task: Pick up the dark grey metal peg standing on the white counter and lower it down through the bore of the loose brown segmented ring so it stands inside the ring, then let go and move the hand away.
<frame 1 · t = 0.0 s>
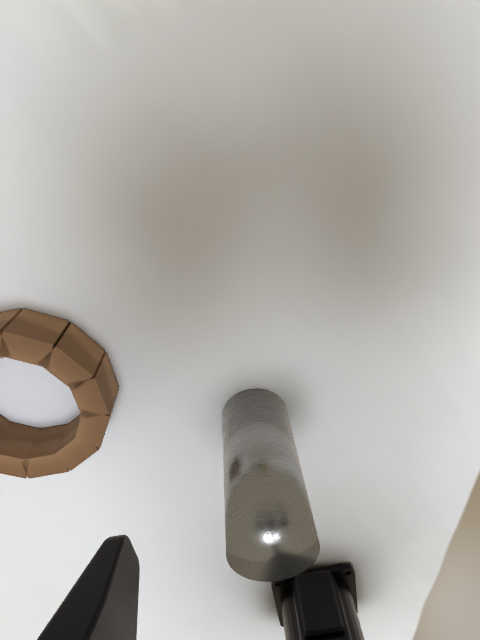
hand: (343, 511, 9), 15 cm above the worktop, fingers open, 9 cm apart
brown segmented ring: (33, 383, 24), on the worktop
grey metal peg: (254, 415, 26), on the worktop
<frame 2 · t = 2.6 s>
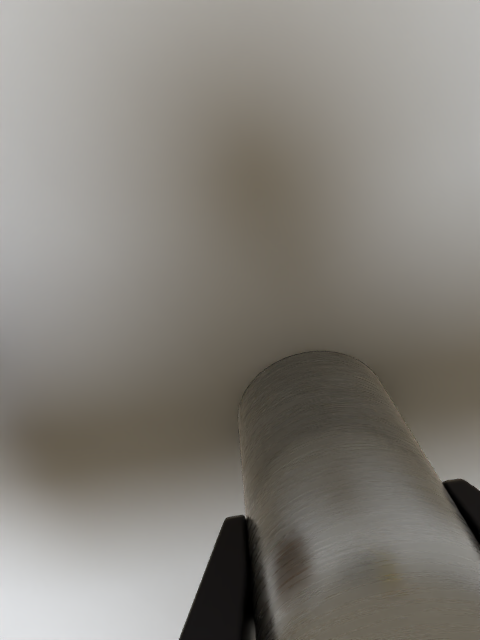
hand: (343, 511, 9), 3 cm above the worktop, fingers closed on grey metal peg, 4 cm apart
grey metal peg: (311, 415, 11), on the worktop, touching gripper
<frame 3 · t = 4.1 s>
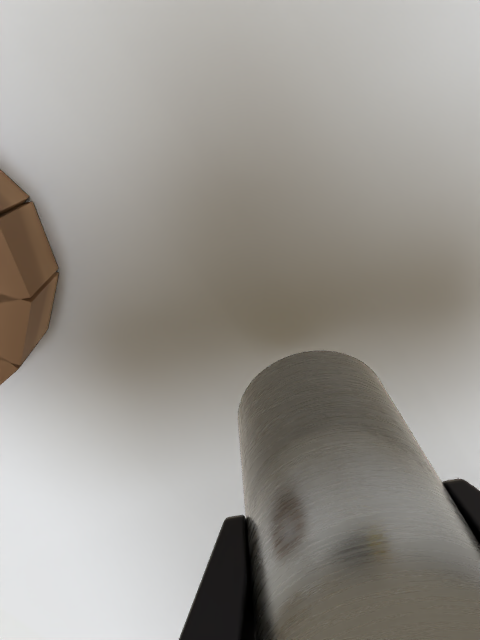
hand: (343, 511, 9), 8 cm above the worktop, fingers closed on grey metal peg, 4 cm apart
grey metal peg: (311, 414, 11), point 5 cm above the worktop, touching gripper
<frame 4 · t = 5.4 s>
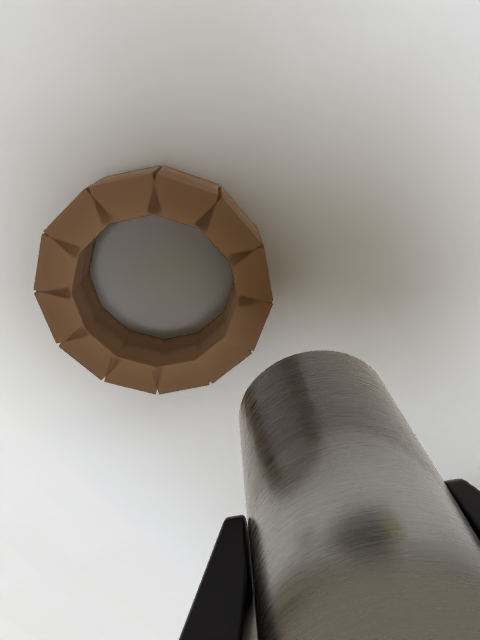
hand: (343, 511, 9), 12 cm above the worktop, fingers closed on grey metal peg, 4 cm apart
brown segmented ring: (162, 275, 19), on the worktop
grey metal peg: (313, 414, 11), point 9 cm above the worktop, touching gripper
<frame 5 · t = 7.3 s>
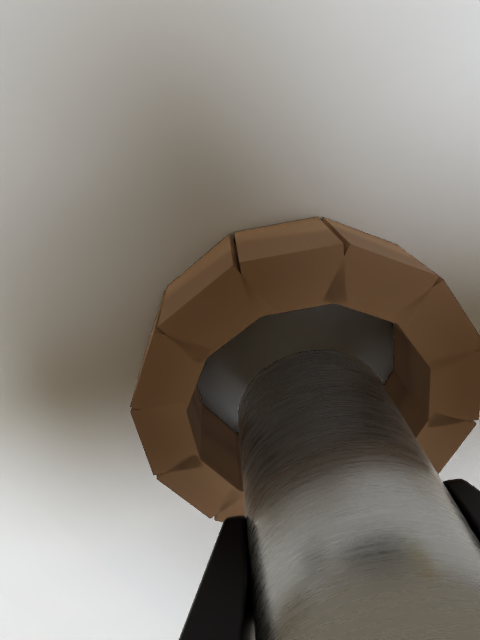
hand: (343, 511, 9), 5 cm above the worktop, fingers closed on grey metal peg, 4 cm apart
brown segmented ring: (294, 364, 14), on the worktop
grey metal peg: (312, 414, 11), point 2 cm above the worktop, touching gripper
when the fingers open (4 cm above the worktop, at t = 8.6 s): grey metal peg drops 1 cm, resting in brown segmented ring.
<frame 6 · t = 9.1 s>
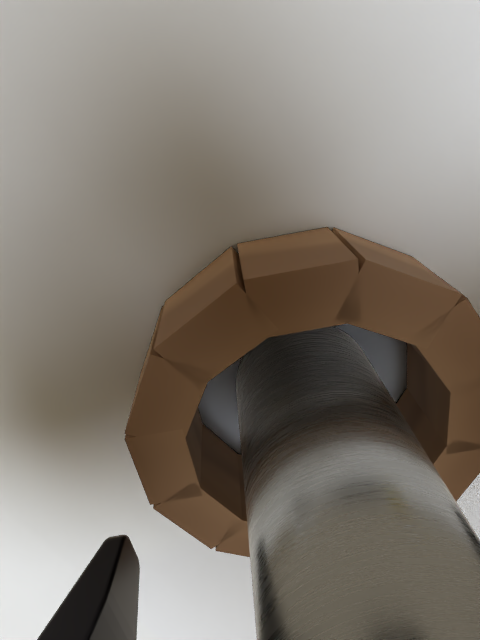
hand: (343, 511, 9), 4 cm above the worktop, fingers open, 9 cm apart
brown segmented ring: (301, 383, 13), on the worktop
grey metal peg: (302, 382, 13), resting in brown segmented ring
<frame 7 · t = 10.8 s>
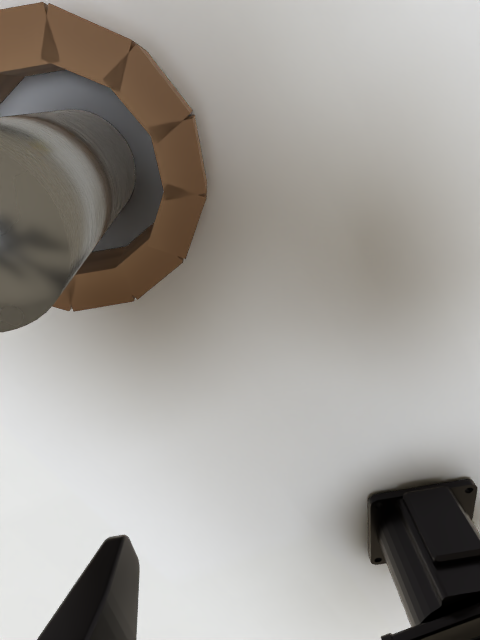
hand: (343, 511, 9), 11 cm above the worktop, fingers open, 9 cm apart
brown segmented ring: (80, 169, 16), on the worktop
grey metal peg: (81, 168, 16), resting in brown segmented ring
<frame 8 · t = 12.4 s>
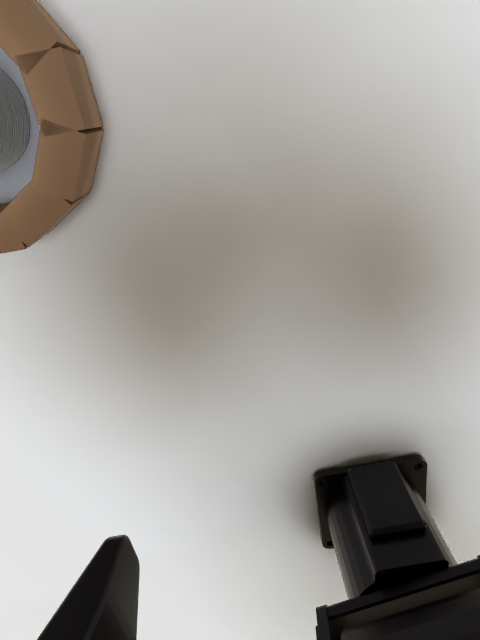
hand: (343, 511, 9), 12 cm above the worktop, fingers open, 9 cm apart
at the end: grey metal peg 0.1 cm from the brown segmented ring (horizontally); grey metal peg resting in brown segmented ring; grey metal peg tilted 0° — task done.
